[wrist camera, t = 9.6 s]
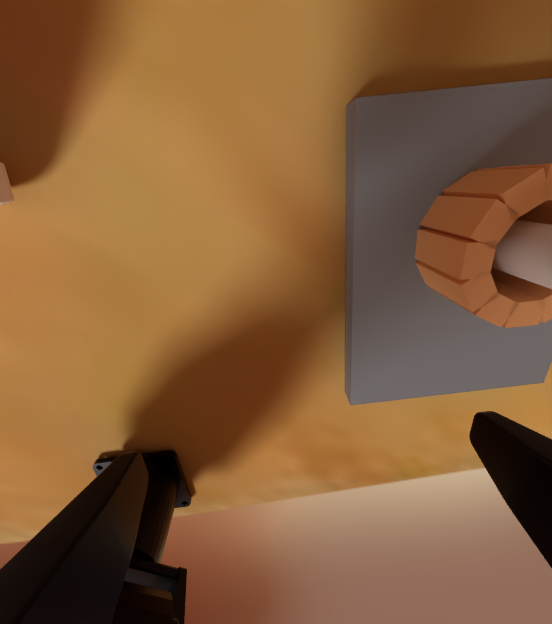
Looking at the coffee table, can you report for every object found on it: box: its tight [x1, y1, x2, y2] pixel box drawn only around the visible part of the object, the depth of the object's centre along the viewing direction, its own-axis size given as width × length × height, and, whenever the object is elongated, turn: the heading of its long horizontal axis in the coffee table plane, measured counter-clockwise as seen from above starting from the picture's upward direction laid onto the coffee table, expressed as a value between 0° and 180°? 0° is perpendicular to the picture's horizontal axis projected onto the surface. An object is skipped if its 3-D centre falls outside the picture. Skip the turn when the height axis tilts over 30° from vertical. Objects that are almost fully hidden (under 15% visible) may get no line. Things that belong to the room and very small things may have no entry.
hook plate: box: [345, 78, 552, 405], centre depth 14 cm, size 18×14×9 cm
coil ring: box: [415, 163, 552, 328], centre depth 14 cm, size 7×7×4 cm
